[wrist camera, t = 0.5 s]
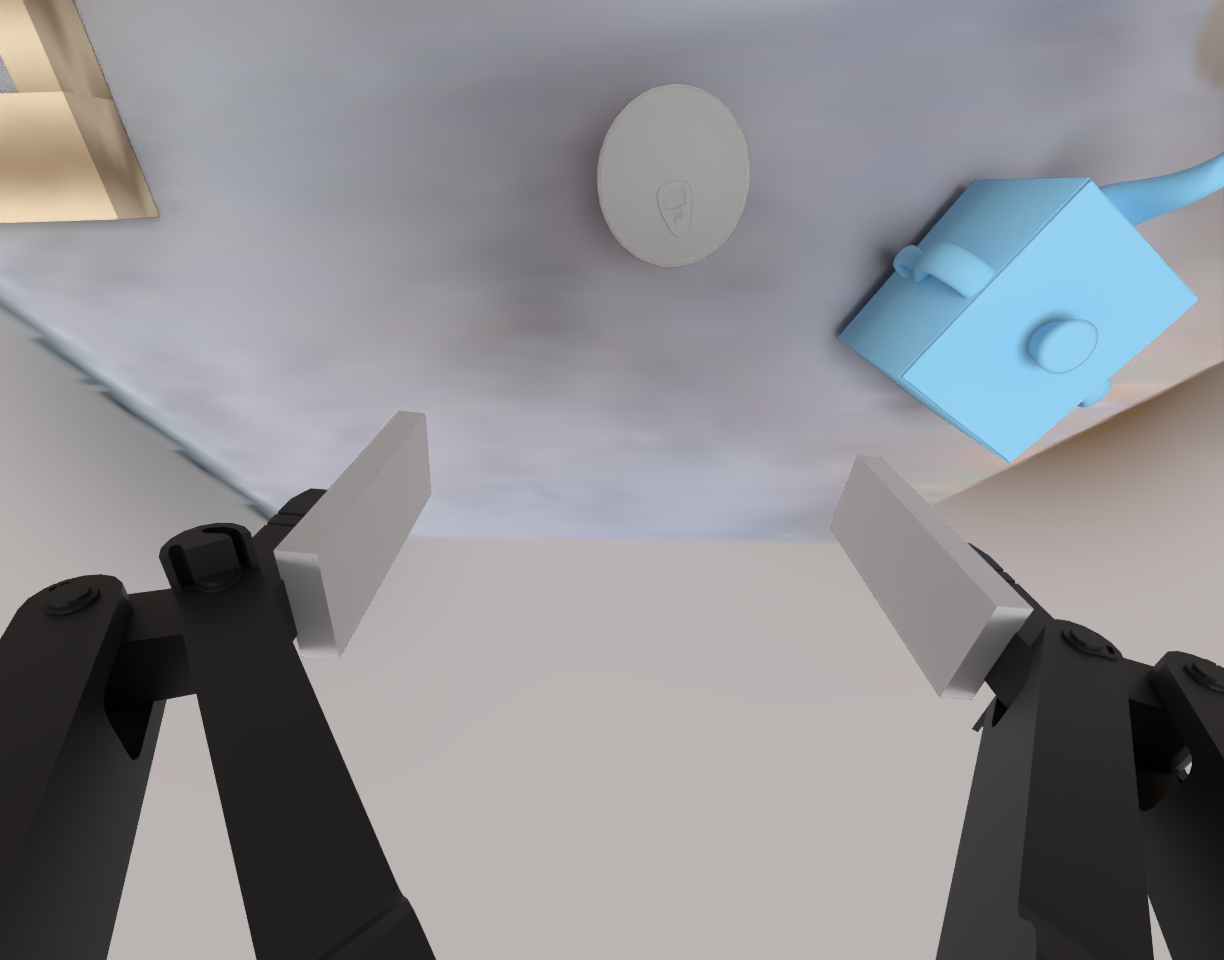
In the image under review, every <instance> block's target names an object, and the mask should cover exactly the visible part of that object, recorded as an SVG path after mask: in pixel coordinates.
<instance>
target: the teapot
mask: <svg viewBox="0 0 1224 960" xmlns="http://www.w3.org/2000/svg"><path fill="white" fill-rule="evenodd" d="M1222 187H1224V152H1223V153H1221V154H1219V155H1218V156H1216V157H1214V158H1212V159H1210V160H1208V161H1206V162H1204V163H1201V164H1199V165H1197V166H1195V167H1192V168H1189V169H1186V170H1183V171H1180V172H1177V173H1174V174H1169V175H1165V176H1160V177H1155V178H1149V179H1143V180H1136V181H1128V182H1121V183H1115V184H1110V185H1105V186H1101V187H1097V186H1096V185H1095V183H1094V182H1093V181H1092V180H1091V179H1090V178H1089V177H1088V178H1044V179H1001V180H974V181H973V182H972V183H971V184H970V185H969V187H968V188H967V189H966V190H965V191H964V192H963V193H962V195H961V196H960V197H959V198H958V199H957V200H956V202H955V203H954V204H953V205H952V206H951V207H950V208H949V210H948V211H947V212H946V213H945V214H944V215H943V216H942V218H941V219H940V220H939V221H938V222H937V223H936V224H935V225H934V226H933V227H932V228H931V229H930V231H929V233H928V234H927V235H926V236H925V237H924V238H923V239H922V241H921V242H920V243H919V244H918V245H917V246H914V245H909V246H907V247H905V248H904V249H902V250H901V251H900V252H899V253H898V254H897V255H896V257H895V259H894V263H893V266H894V268H895V270H896V271H895V272H894V273H893V274H892V275H891V276H890V277H889V279H888V280H887V281H886V282H885V283H884V284H883V286H882V287H881V288H880V289H879V290H878V291H877V292H876V294H875V295H874V296H873V297H872V298H871V299H870V301H869V302H867V303H866V304H865V305H864V307H863V308H862V310H861V311H860V312H859V313H858V314H857V316H856V317H855V318H854V319H853V320H852V321H851V323H850V324H849V325H848V326H847V327H846V328H845V330H844V331H843V332H842V333H841V334H840V335H839V337H838V338H839V339H840V340H841V341H842V342H844V343H845V344H846V345H848V346H849V347H850V348H851V349H853V350H854V351H855V352H857V353H858V354H859V355H860V356H862V357H863V358H864V359H865V360H867V361H868V362H869V363H871V364H872V365H873V366H874V367H876V368H877V369H878V370H880V371H881V372H882V373H883V374H885V375H886V376H887V377H889V378H890V379H891V380H892V381H894V382H895V383H896V384H897V385H899V386H900V387H901V388H903V389H904V390H905V391H906V392H908V393H909V394H910V395H912V396H913V397H914V398H915V399H917V400H918V401H919V402H921V403H922V404H923V405H924V406H926V407H927V408H928V409H929V410H931V411H932V412H934V413H935V414H937V415H938V416H940V417H941V418H943V419H944V420H945V421H947V422H948V423H950V424H951V425H953V426H954V427H956V428H957V429H959V430H960V431H962V432H963V433H965V434H966V435H967V436H969V437H970V438H972V439H973V440H975V441H976V442H978V443H979V444H981V445H982V446H984V447H985V448H986V449H988V450H989V451H991V452H992V453H994V454H995V455H997V456H998V457H1000V458H1001V459H1003V460H1004V461H1006V462H1007V463H1010V462H1011V461H1013V460H1014V459H1015V458H1016V457H1018V456H1019V455H1020V454H1021V453H1022V452H1024V451H1025V450H1026V449H1027V448H1028V447H1029V446H1031V445H1032V444H1033V443H1034V442H1035V441H1037V440H1038V439H1039V438H1040V437H1041V436H1042V435H1044V434H1045V433H1046V432H1047V431H1048V430H1049V429H1051V428H1052V427H1053V426H1054V425H1055V424H1056V423H1058V422H1059V421H1060V420H1061V419H1062V418H1063V417H1065V416H1066V415H1067V414H1068V413H1069V412H1070V411H1072V410H1073V409H1074V408H1075V407H1076V406H1079V407H1089V406H1092V405H1094V404H1096V403H1097V402H1099V401H1100V400H1102V399H1103V398H1104V397H1105V396H1106V395H1107V394H1108V392H1109V391H1110V389H1111V387H1112V383H1111V380H1110V379H1109V378H1110V377H1111V376H1112V375H1113V374H1115V373H1116V372H1117V371H1118V370H1119V369H1120V368H1121V367H1123V366H1124V365H1125V364H1126V363H1127V362H1128V361H1130V360H1131V359H1132V358H1133V357H1134V356H1135V355H1136V354H1138V353H1139V352H1140V351H1141V350H1142V349H1143V348H1144V347H1146V346H1147V345H1148V344H1149V343H1150V342H1151V341H1153V340H1154V339H1155V338H1156V337H1157V336H1158V335H1159V334H1161V333H1162V332H1163V331H1164V330H1165V329H1166V328H1167V327H1169V326H1170V325H1171V324H1172V323H1173V322H1174V321H1175V320H1177V319H1178V318H1179V317H1180V316H1181V315H1182V314H1183V313H1184V312H1186V311H1187V310H1188V309H1189V308H1190V307H1191V306H1192V305H1193V304H1194V303H1196V302H1197V301H1198V300H1199V299H1198V298H1197V297H1196V296H1195V294H1194V293H1193V292H1192V291H1191V290H1190V289H1189V288H1188V287H1187V286H1186V284H1185V283H1184V282H1183V281H1182V280H1181V279H1180V278H1179V277H1178V276H1177V274H1176V273H1175V272H1174V271H1173V270H1172V269H1171V268H1170V267H1169V266H1168V265H1167V263H1166V262H1165V261H1164V260H1163V259H1162V258H1161V257H1160V256H1159V255H1158V253H1157V252H1156V251H1155V250H1154V249H1153V248H1152V247H1151V246H1150V245H1149V243H1148V242H1147V241H1146V240H1145V239H1144V238H1143V237H1142V236H1141V235H1140V233H1139V232H1138V231H1137V230H1136V229H1135V228H1134V226H1136V225H1138V224H1140V223H1143V222H1145V221H1147V220H1149V219H1152V218H1155V217H1157V216H1160V215H1162V214H1165V213H1168V212H1171V211H1173V210H1176V209H1178V208H1181V207H1183V206H1186V205H1188V204H1191V203H1193V202H1195V201H1197V200H1199V199H1201V198H1203V197H1205V196H1207V195H1209V194H1211V193H1213V192H1215V191H1217V190H1218V189H1220V188H1222Z"/></svg>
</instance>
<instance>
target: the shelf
mask: <svg viewBox="0 0 1224 960" xmlns="http://www.w3.org/2000/svg"><path fill="white" fill-rule="evenodd" d="M0 55H1V57H2V59H3V61H4V63H5V65H6V67H7V69H8V71H9V74H10V76H11V78H12V80H13V82H14V84H15V86H16V88H17V91H18V93H0V223H18V222H50V221H81V220H112V219H131V218H147V217H160V216H159V213H158V211H157V208H156V206H155V203H154V201H153V198H152V196H151V193H150V191H149V188H148V186H147V183H146V181H145V178H144V176H143V173H142V171H141V168H140V166H139V163H138V161H137V159H136V156H135V154H134V151H133V149H132V146H131V144H130V141H129V139H128V136H127V134H126V131H125V129H124V126H123V124H122V121H121V119H120V116H119V114H118V111H117V109H116V106H115V104H114V101H113V99H112V96H111V94H110V91H109V89H108V86H107V84H106V81H105V79H104V76H103V74H102V71H101V69H100V66H99V64H98V62H97V59H96V57H95V54H94V52H93V49H92V47H91V44H90V42H89V39H88V37H87V34H86V32H85V29H84V27H83V24H82V22H81V19H80V17H79V14H78V12H77V9H76V7H75V4H74V2H73V0H0Z"/></svg>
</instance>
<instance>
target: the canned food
mask: <svg viewBox="0 0 1224 960" xmlns="http://www.w3.org/2000/svg"><path fill="white" fill-rule="evenodd" d="M749 183H750V158H749V154H748V149H747V144H746V140H745V138H744V135H743V133H742V130H741V128H740V125H739V124H738V122H737V121H736V119H735V117H734V116H733V114H732V113H731V111H730V110H729V109H728V108H727V107H726V106H725V105H724V104H723V103H722V102H721V101H720V100H719V99H718V98H717V97H715V96H713V95H712V94H710V93H709V92H707V91H705V90H704V89H701V88H698V87H695V86H691V85H688V84H668V85H663V86H658V87H654V88H652V89H650V90H648V91H646V92H643V93H641V94H639V95H638V96H637V97H636V98H634V99H633V100H632V101H630V102H629V103H628V104H627V105H626V106H625V107H624V108H623V109H622V110H621V112H620V113H619V114H618V115H617V116H616V117H615V119H614V121H613V122H612V124H611V126H610V128H609V129H608V131H607V133H606V135H605V138H604V141H603V144H602V147H601V149H600V153H599V159H598V165H597V193H598V199H599V205H600V208H601V211H602V214H603V217H604V220H605V222H606V224H607V225H608V227H609V229H610V231H611V233H612V234H613V236H614V237H615V238H616V239H617V241H618V242H619V243H620V244H621V246H622V247H623V248H625V249H626V250H627V251H628V252H629V253H631V254H632V255H633V256H634V257H636V258H638V259H640V260H642V261H644V262H646V263H649V264H653V265H656V266H660V267H680V266H685V265H690V264H692V263H695V262H697V261H700V260H702V259H704V258H705V257H707V256H708V255H710V254H711V253H713V252H715V251H716V250H717V249H718V248H719V247H720V246H721V245H722V244H723V243H724V242H725V241H726V240H727V238H728V237H729V236H730V234H731V233H732V231H733V230H734V229H735V227H736V225H737V223H738V221H739V219H740V217H741V215H742V213H743V210H744V207H745V203H746V200H747V197H748V191H749Z"/></svg>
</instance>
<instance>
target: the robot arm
mask: <svg viewBox="0 0 1224 960" xmlns="http://www.w3.org/2000/svg"><path fill="white" fill-rule="evenodd" d="M430 495H431V482H430V469H429V455H428V442H427V428H426V415H425V414H424V413H414V412H403V411H398V413H397V414H396V415H395V416H394V417H393V418H392V419H391V420H390V421H389V423H388V424H387V425H386V426H385V427H384V428H383V429H382V430H381V431H380V433H379V434H378V435H377V436H376V437H375V438H374V439H373V440H372V441H371V443H370V444H369V445H368V446H367V447H366V448H365V449H364V450H363V451H362V453H361V454H360V455H359V456H358V457H357V458H356V459H355V460H354V462H353V463H352V464H351V465H350V466H349V467H348V468H347V469H346V470H345V472H344V473H343V474H342V475H341V476H340V477H339V478H338V479H337V480H336V482H335V483H334V484H333V485H332V486H331V487H330V488H329V489H328V490H323V489H309V490H307V491H305V492H303V493H301V494H299V495H297V496H295V497H294V498H292V499H290V500H289V501H288V502H287V503H286V504H285V505H284V506H283V507H282V508H281V509H280V510H279V511H278V515H277V514H275V515H274V516H273V517H272V518H271V519H270V520H269V521H268V524H267V525H265V526H264V527H263V528H262V529H261V530H260V531H259V532H258V533H257V534H256V535H255V536H254V537H253V538H252V536H251V533H250V531H248V529H246V528H245V527H244V526H241V525H237V524H234V523H214V524H208V525H202V526H198V527H195V528H192V529H190V530H186V531H184V532H182V533H180V534H178V535H176V536H175V537H173V538H171V539H170V540H169V541H168V542H167V543H166V544H165V545H164V546H163V547H162V548H161V550H160V554H159V558H160V561H161V563H162V566H163V568H164V571H165V573H166V576H167V578H168V581H169V583H170V586H171V589H165V590H157V591H149V592H142V593H134V594H127V592H126V590H125V588H124V586H123V583H122V582H121V581H120V580H118V579H117V578H116V577H114V576H108V575H102V574H100V575H86V576H81V577H77V578H72V579H67V580H64V581H61V582H58V583H57V584H53V585H51V586H49V587H47V588H45V589H43V590H41V591H40V592H38V593H37V594H35V595H33V596H32V597H30V598H28V599H27V600H26V602H25V603H24V604H23V605H22V606H21V607H20V608H19V609H18V610H17V612H16V614H15V615H14V617H13V619H12V620H11V622H10V624H9V625H8V627H7V629H6V631H5V632H4V634H3V635H2V637H1V639H0V960H106V959H107V955H108V951H109V946H110V942H111V938H112V933H113V929H114V925H115V920H116V916H117V911H118V907H119V903H120V899H121V894H122V890H123V886H124V881H125V877H126V873H127V868H128V864H129V860H130V855H131V851H132V847H133V843H134V838H135V834H136V829H137V825H138V821H139V817H140V812H141V807H142V804H143V799H144V795H145V790H146V786H147V782H148V777H149V773H150V769H151V764H152V760H153V756H154V752H155V747H156V743H157V739H158V734H159V730H160V725H161V721H162V717H163V713H164V708H165V704H166V700H167V699H171V698H176V697H181V696H186V695H191V694H197V698H198V703H199V708H200V711H201V716H202V720H203V725H204V729H205V734H206V739H207V743H208V747H209V752H210V756H211V761H212V765H213V769H214V774H215V778H216V783H217V787H218V791H219V796H220V800H221V805H222V809H223V813H224V818H225V822H226V827H227V831H228V836H229V840H230V844H231V849H232V853H233V857H234V862H235V867H236V871H237V875H238V880H239V884H240V889H241V893H242V897H243V902H244V906H245V911H246V915H247V919H248V924H249V928H250V933H251V937H252V942H253V946H254V950H255V955H256V959H257V960H436V959H435V956H434V954H433V952H432V949H431V947H430V945H429V942H428V940H427V938H426V936H425V933H424V931H423V929H422V927H421V924H420V922H419V920H418V918H417V916H416V914H415V912H414V910H413V908H412V906H411V904H410V902H409V901H408V899H406V897H404V896H403V895H402V893H401V891H400V889H399V887H398V885H397V883H396V881H395V879H394V876H393V874H392V871H391V869H390V867H389V864H388V862H387V860H386V857H385V855H384V853H383V851H382V848H381V846H380V844H379V841H378V839H377V837H376V835H375V832H374V830H373V827H372V825H371V823H370V821H369V818H368V816H367V814H366V811H365V809H364V806H363V804H362V802H361V799H360V797H359V795H358V793H357V790H356V788H355V786H354V784H353V781H352V779H351V776H350V774H349V772H348V769H347V767H346V765H345V762H344V760H343V758H342V755H341V753H340V751H339V748H338V746H337V744H336V741H335V739H334V737H333V734H332V732H331V730H330V728H329V725H328V723H327V721H326V718H325V716H324V714H323V711H322V709H321V707H320V704H319V702H318V700H317V697H316V695H315V693H314V690H313V688H312V686H311V683H310V682H309V679H308V677H307V674H306V672H305V670H304V667H303V665H302V663H301V660H300V658H299V656H298V653H297V651H296V649H295V646H294V644H293V641H294V639H295V638H296V637H297V641H298V645H299V649H300V652H301V656H305V657H320V658H337V659H339V658H340V657H341V655H342V653H343V651H344V649H345V648H346V646H347V644H348V642H349V640H350V639H351V637H352V635H353V633H354V632H355V630H356V628H357V626H358V624H359V623H360V621H361V619H362V617H363V615H364V614H365V612H366V610H367V608H368V606H369V605H370V603H371V601H372V599H373V597H374V596H375V594H376V592H377V590H378V588H379V587H380V585H381V583H382V581H383V579H384V578H385V576H386V574H387V572H388V571H389V569H390V567H391V565H392V563H393V562H394V560H395V558H396V556H397V554H398V553H399V550H400V549H401V547H402V545H403V544H404V542H405V540H406V538H407V536H408V535H409V533H410V531H411V529H412V527H413V526H414V524H415V522H416V520H417V518H418V517H419V515H420V513H421V511H422V509H423V508H424V506H425V504H426V502H427V501H428V499H429V497H430ZM830 529H831V531H832V532H833V534H834V535H835V537H836V538H837V540H838V542H839V543H840V545H841V546H842V548H843V549H844V551H845V552H846V554H847V555H848V557H849V558H850V560H851V562H852V563H853V565H854V566H855V568H856V569H857V571H858V572H859V574H860V576H861V577H862V579H863V580H864V582H865V583H866V585H867V586H868V588H869V589H870V591H871V592H872V594H873V596H874V597H875V599H876V600H877V602H878V603H879V605H880V606H881V608H882V610H883V611H884V613H885V614H886V616H887V617H888V619H889V620H890V622H891V623H892V625H893V627H894V628H895V630H896V631H897V633H898V634H899V636H900V637H901V639H902V641H903V642H904V643H905V645H906V647H907V648H908V650H909V651H910V653H911V654H912V656H913V658H914V659H915V661H916V662H917V664H918V665H919V667H920V668H921V670H922V671H923V673H924V674H925V676H926V678H927V679H928V681H929V682H930V684H931V685H932V687H933V688H934V690H935V691H936V693H937V694H938V696H939V698H952V699H969V700H972V699H973V697H974V696H975V694H976V693H977V692H978V690H979V688H980V687H981V686H982V684H983V683H984V681H986V683H987V684H988V685H989V686H990V688H991V689H992V690H993V692H994V693H995V694H996V696H995V697H994V699H993V700H992V701H991V703H990V704H989V706H988V707H987V709H986V710H985V711H984V713H983V714H982V715H981V717H980V718H979V720H978V721H977V722H976V724H975V725H974V727H973V728H972V729H973V730H975V731H977V732H978V731H979V730H980V728H981V727H983V732H982V737H981V742H980V747H979V752H978V756H977V762H976V766H975V771H974V776H973V781H972V786H971V790H970V796H969V800H968V805H967V810H966V815H965V820H964V825H963V829H962V834H961V839H960V844H959V849H958V854H957V858H956V864H955V868H954V873H953V878H952V883H951V888H950V892H949V898H948V902H947V908H946V912H945V917H944V922H943V927H942V932H941V937H940V941H939V946H938V951H937V956H936V960H1154V956H1153V945H1152V935H1151V925H1150V915H1149V905H1148V896H1149V899H1150V902H1151V904H1152V907H1153V909H1154V912H1155V915H1156V918H1157V920H1158V923H1159V925H1160V928H1161V931H1162V934H1163V936H1164V939H1165V941H1166V944H1167V947H1168V949H1169V952H1170V955H1171V957H1172V960H1224V668H1223V667H1221V666H1217V665H1216V664H1215V663H1213V662H1211V661H1209V660H1207V659H1202V658H1200V657H1197V656H1195V655H1192V654H1187V653H1184V652H1179V651H1172V652H1171V651H1170V652H1167V653H1166V654H1165V655H1164V656H1163V657H1162V658H1161V659H1160V660H1159V662H1158V663H1157V664H1156V665H1155V666H1150V665H1147V664H1143V663H1139V662H1136V661H1133V660H1129V659H1125V658H1123V656H1122V654H1121V653H1120V651H1119V650H1118V649H1117V648H1116V647H1115V646H1114V645H1113V644H1112V643H1111V642H1109V641H1108V640H1107V639H1105V638H1104V637H1102V636H1101V635H1100V634H1098V633H1096V632H1094V631H1092V630H1090V629H1088V628H1086V627H1084V626H1082V625H1079V624H1076V623H1073V622H1070V621H1065V620H1059V619H1056V620H1055V619H1054V618H1052V617H1051V616H1050V615H1049V614H1048V613H1047V612H1046V611H1045V610H1044V609H1043V608H1042V607H1041V606H1040V605H1039V604H1038V603H1037V602H1036V601H1035V600H1034V599H1033V598H1032V597H1031V596H1030V595H1029V594H1028V593H1027V592H1026V591H1025V590H1024V589H1023V588H1022V587H1021V586H1020V585H1019V584H1015V580H1014V579H1012V577H1011V576H1009V575H1008V574H1007V573H1006V572H1003V569H1002V568H1001V567H1000V566H999V565H998V564H997V563H996V562H995V561H994V560H993V559H992V558H991V557H990V556H989V555H987V554H986V553H984V552H982V551H981V550H980V549H978V548H976V547H975V546H973V545H972V544H970V543H967V542H966V541H965V540H964V539H963V538H962V537H961V536H960V535H959V534H958V533H957V532H956V531H955V530H954V529H953V528H952V527H951V526H950V525H949V524H948V523H947V522H946V521H945V520H944V519H943V518H942V517H941V516H940V515H939V514H938V513H937V512H936V511H935V510H934V509H933V508H932V507H931V506H930V505H929V504H928V503H927V502H926V501H925V500H924V499H923V498H922V497H921V496H920V495H919V494H918V493H917V492H916V491H915V490H914V489H913V488H912V487H911V486H910V485H909V484H908V483H907V482H906V481H905V480H904V479H903V478H902V477H901V476H900V475H899V474H898V473H897V472H896V471H895V470H894V469H893V468H892V467H891V466H890V465H889V464H888V463H887V462H886V461H885V460H884V459H883V458H882V457H878V456H868V455H857V457H856V460H855V462H854V465H853V467H852V470H851V473H850V475H849V478H848V481H847V483H846V486H845V488H844V491H843V494H842V496H841V499H840V501H839V504H838V507H837V509H836V512H835V514H834V517H833V520H832V522H831V525H830ZM1191 762H1192V767H1191V770H1190V773H1189V774H1187V773H1186V771H1185V769H1184V768H1185V767H1186V766H1188V765H1189V763H1191Z"/></svg>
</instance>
